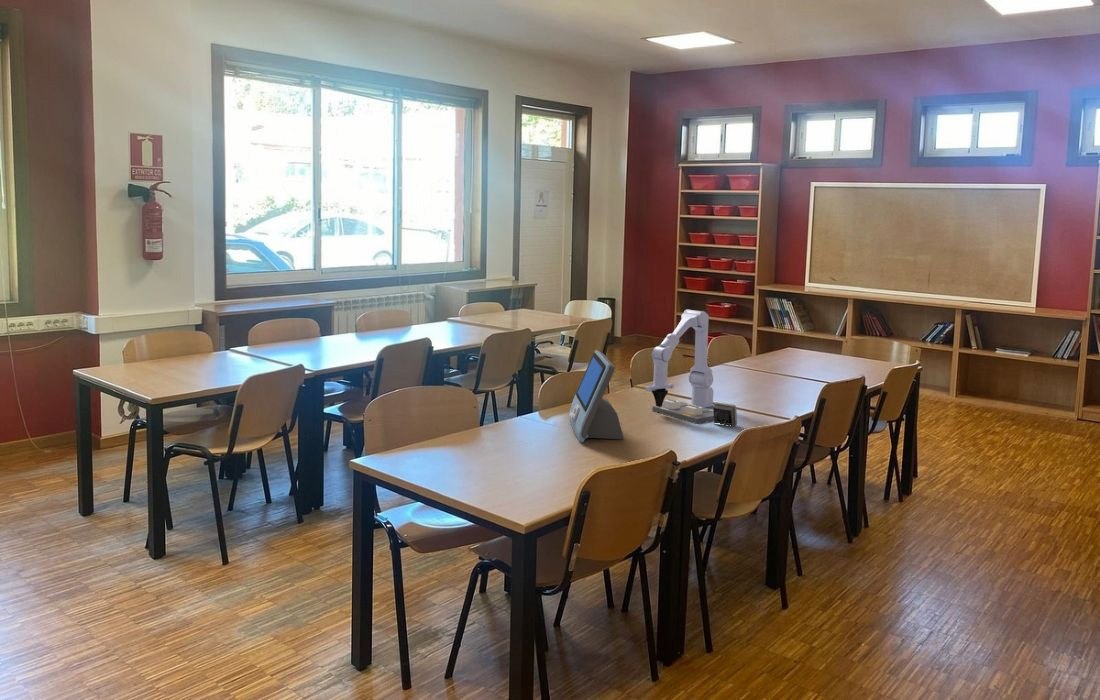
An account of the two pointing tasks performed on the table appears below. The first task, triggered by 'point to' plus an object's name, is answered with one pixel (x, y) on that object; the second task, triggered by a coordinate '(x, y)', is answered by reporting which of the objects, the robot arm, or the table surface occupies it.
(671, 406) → the slider
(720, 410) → the electrical switch
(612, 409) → the touchscreen device
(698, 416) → the switch panel
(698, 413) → the slider
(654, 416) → the table surface
